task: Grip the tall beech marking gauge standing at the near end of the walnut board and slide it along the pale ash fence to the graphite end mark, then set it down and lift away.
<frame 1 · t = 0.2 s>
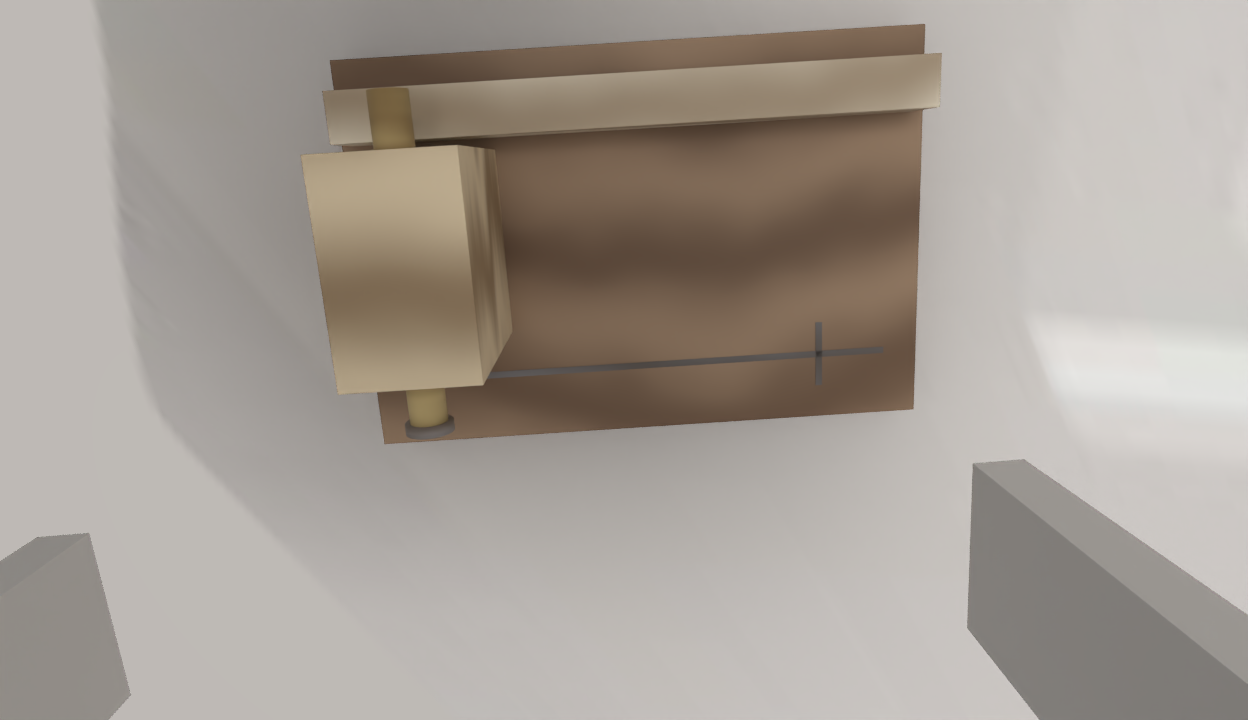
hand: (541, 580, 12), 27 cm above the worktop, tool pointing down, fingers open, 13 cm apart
walnut board: (637, 241, 37), on the worktop
marking gauge: (447, 246, 35), point 2 cm above the worktop, touching walnut board
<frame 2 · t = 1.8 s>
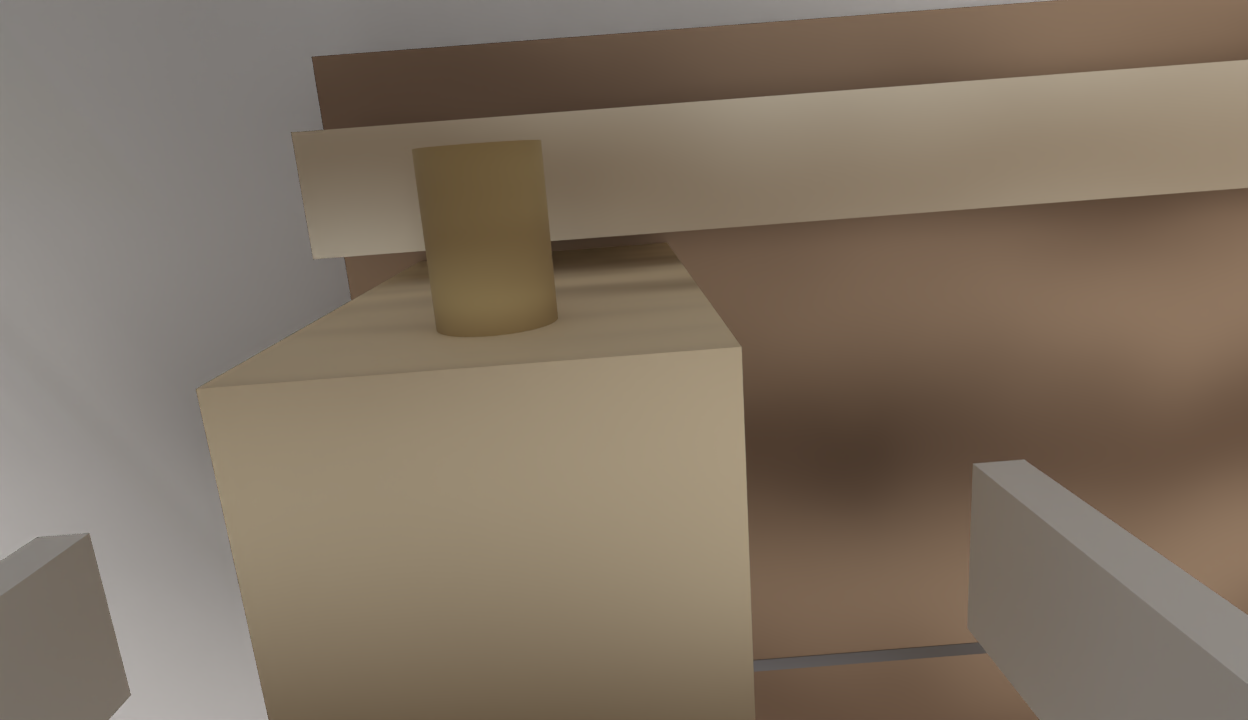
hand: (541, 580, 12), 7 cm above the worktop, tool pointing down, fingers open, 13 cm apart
walnut board: (919, 401, 19), on the worktop
marking gauge: (562, 437, 17), point 2 cm above the worktop, touching walnut board
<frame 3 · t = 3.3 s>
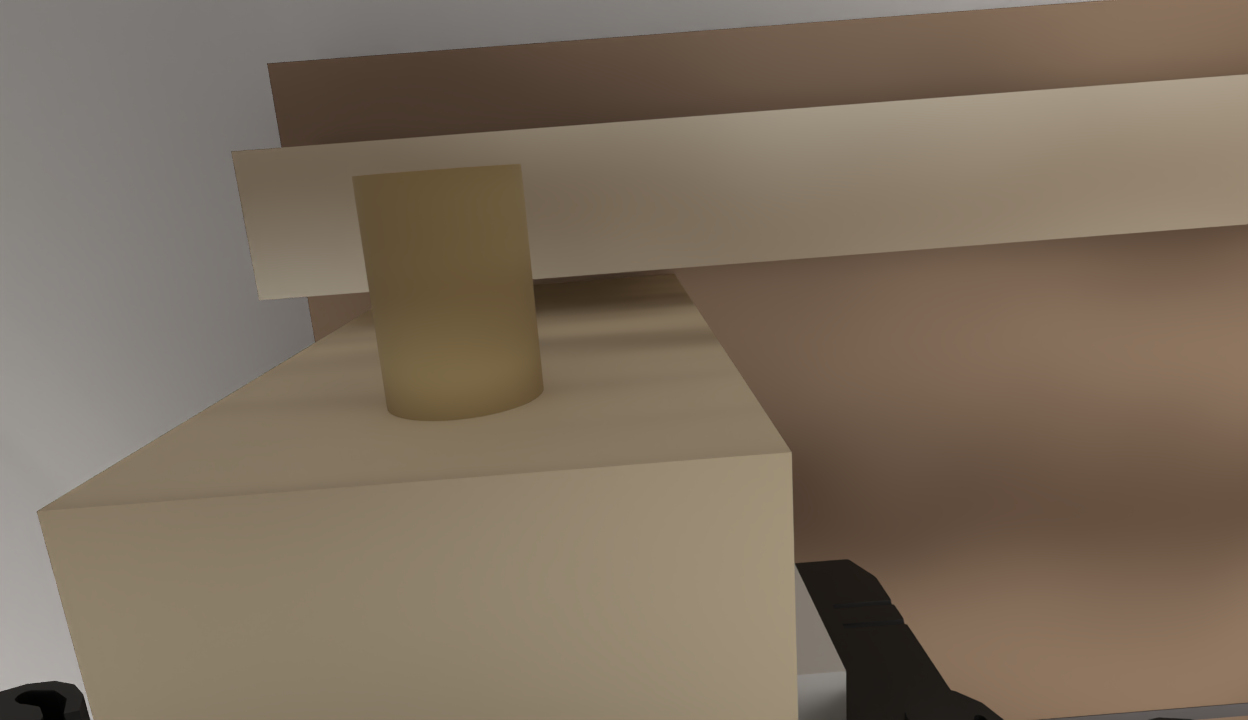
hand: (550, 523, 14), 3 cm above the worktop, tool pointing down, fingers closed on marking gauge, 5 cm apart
walnut board: (954, 447, 17), on the worktop
marking gauge: (555, 494, 15), point 2 cm above the worktop, touching gripper, walnut board
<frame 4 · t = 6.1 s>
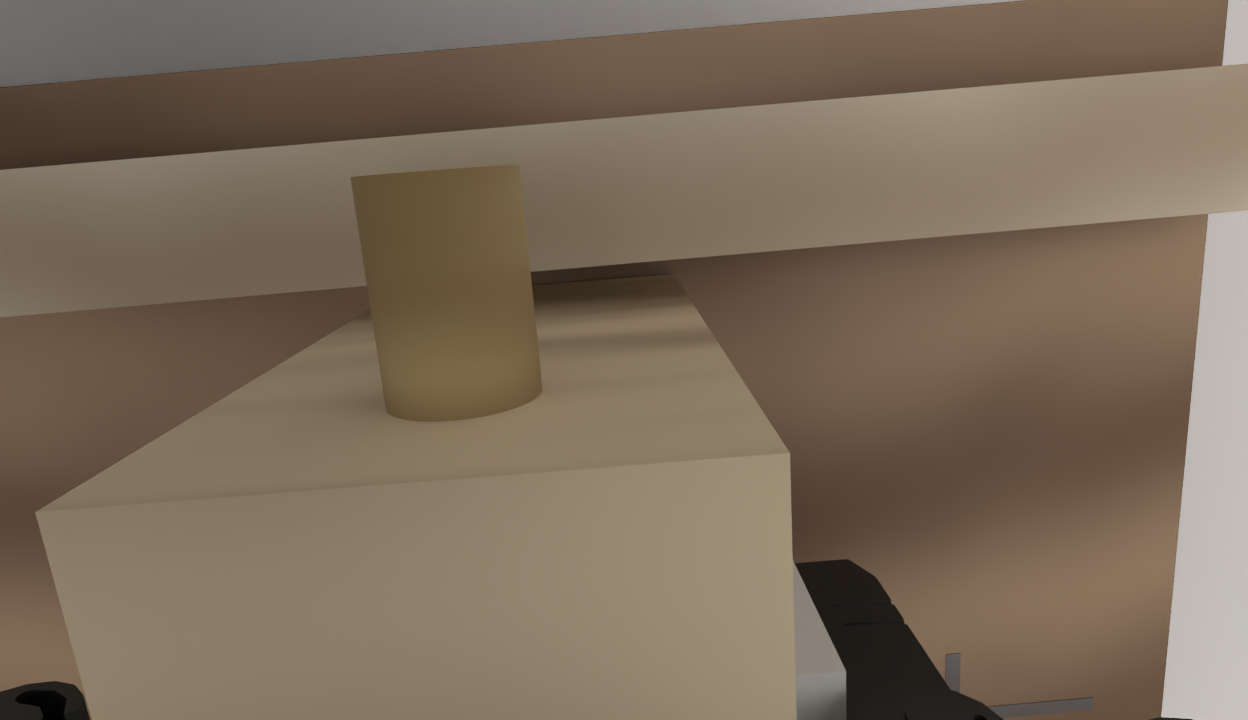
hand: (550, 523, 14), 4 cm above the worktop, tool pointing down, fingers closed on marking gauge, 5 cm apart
walnut board: (554, 470, 17), on the worktop
marking gauge: (554, 494, 15), point 2 cm above the worktop, touching gripper
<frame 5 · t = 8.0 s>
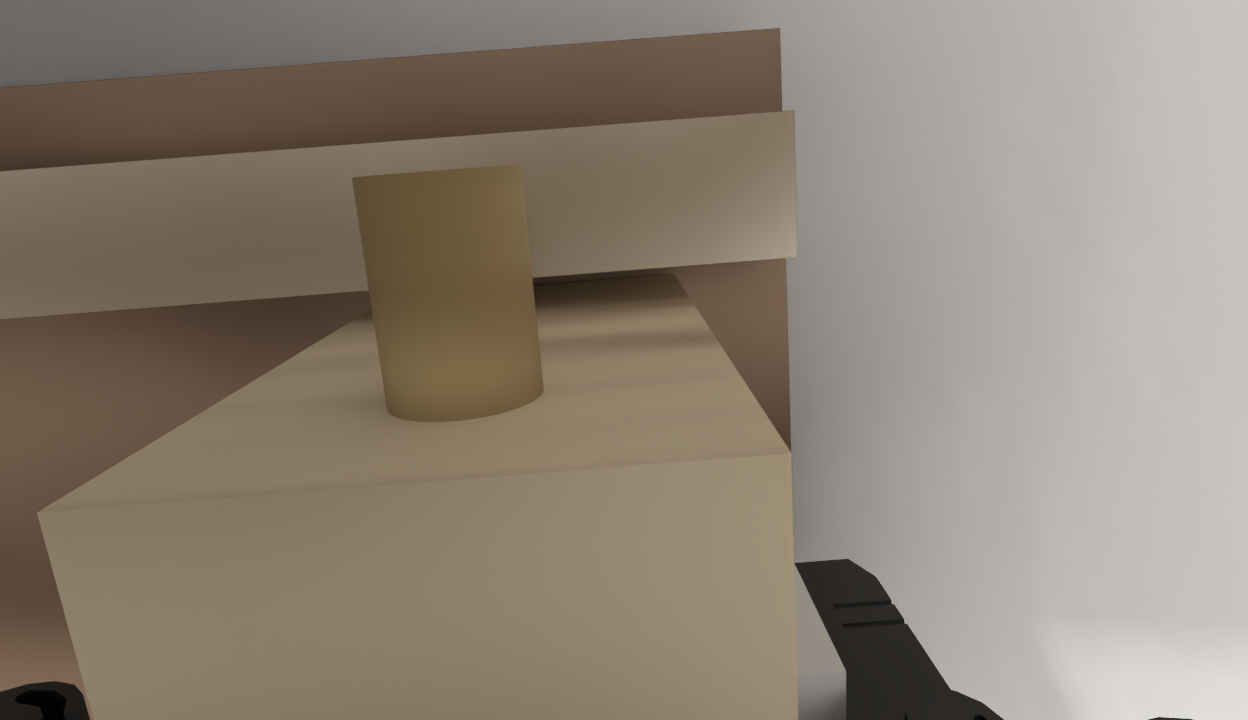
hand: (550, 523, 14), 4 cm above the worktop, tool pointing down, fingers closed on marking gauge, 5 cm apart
walnut board: (200, 503, 17), on the worktop
marking gauge: (555, 494, 15), point 2 cm above the worktop, touching gripper
when the fingers open (3 cm above the worktop, at t = 8.9 s): marking gauge stays where it is, resting on walnut board.
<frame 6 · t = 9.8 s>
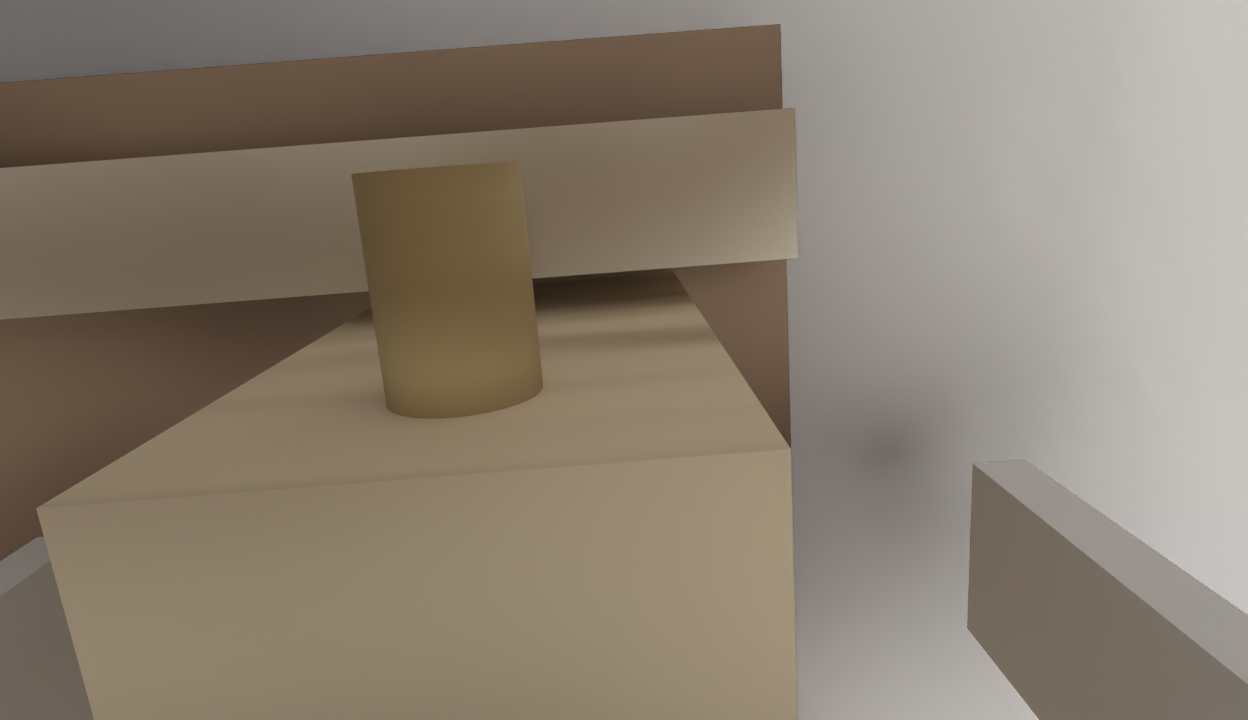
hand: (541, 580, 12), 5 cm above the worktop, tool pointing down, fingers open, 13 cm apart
walnut board: (191, 507, 17), on the worktop
marking gauge: (554, 492, 15), point 2 cm above the worktop, touching walnut board
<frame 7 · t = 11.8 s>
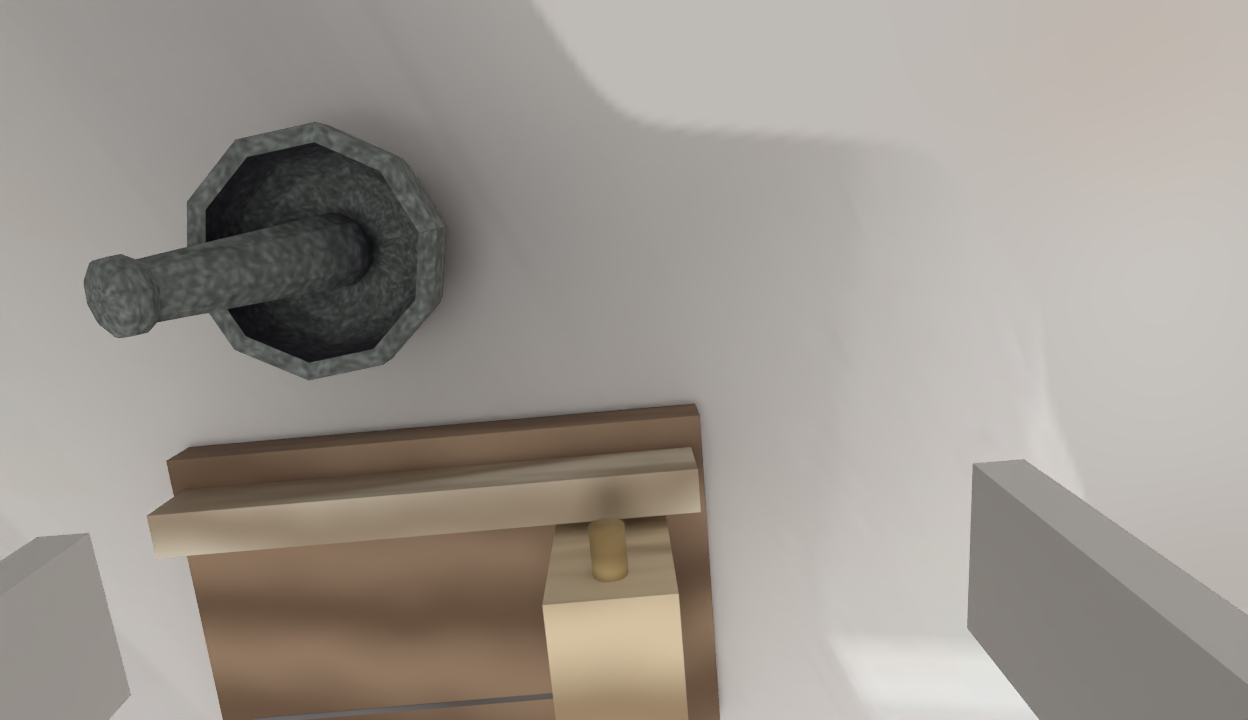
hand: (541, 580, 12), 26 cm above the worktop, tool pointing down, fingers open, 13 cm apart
mortar and pestle: (353, 246, 37), on the worktop
walnut board: (463, 583, 40), on the worktop
marking gauge: (618, 580, 38), point 2 cm above the worktop, touching walnut board
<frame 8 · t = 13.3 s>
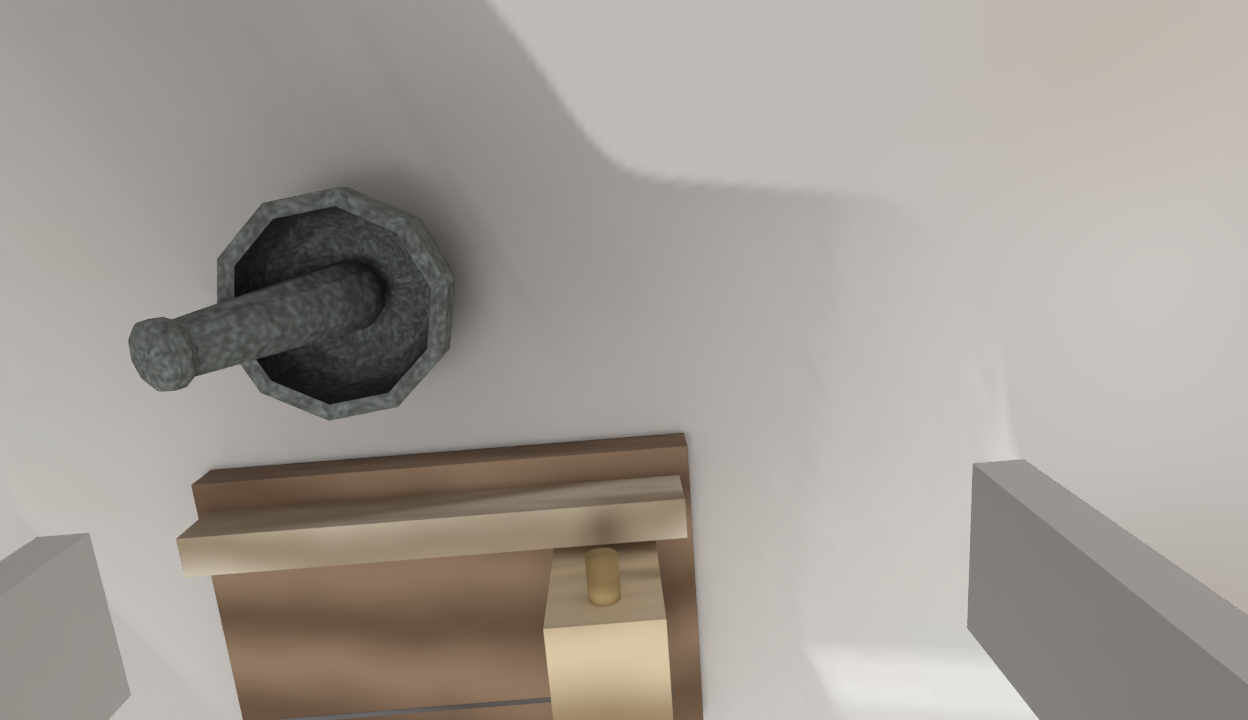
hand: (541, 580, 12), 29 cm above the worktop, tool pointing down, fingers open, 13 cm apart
mortar and pestle: (366, 286, 40), on the worktop
walnut board: (467, 596, 44), on the worktop
marking gauge: (610, 595, 42), point 2 cm above the worktop, touching walnut board
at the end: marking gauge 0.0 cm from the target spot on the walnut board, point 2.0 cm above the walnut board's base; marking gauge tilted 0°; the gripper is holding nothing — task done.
